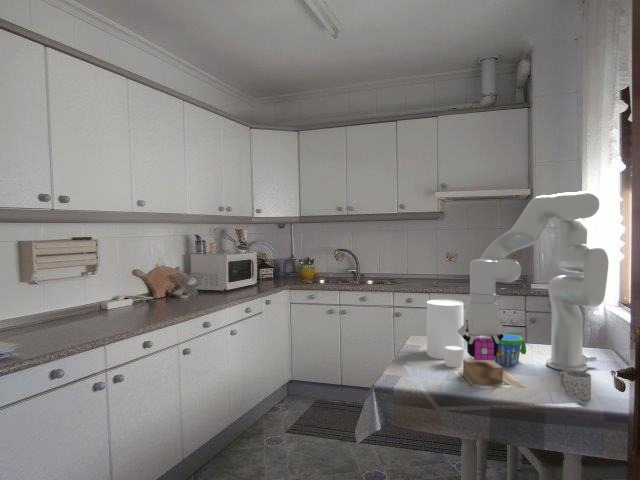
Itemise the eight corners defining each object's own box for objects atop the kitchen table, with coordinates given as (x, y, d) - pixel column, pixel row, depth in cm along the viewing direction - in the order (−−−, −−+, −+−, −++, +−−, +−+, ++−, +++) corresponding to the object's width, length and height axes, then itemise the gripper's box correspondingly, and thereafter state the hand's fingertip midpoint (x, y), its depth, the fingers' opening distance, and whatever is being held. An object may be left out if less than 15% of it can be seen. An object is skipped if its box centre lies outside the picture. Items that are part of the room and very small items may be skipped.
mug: (596, 400, 129) (596, 376, 128) (576, 402, 127) (576, 378, 127) (570, 387, 138) (570, 366, 138) (551, 389, 137) (551, 367, 137)
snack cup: (516, 359, 167) (516, 331, 167) (535, 368, 157) (535, 338, 157) (477, 362, 164) (477, 334, 164) (495, 371, 154) (495, 341, 153)
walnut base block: (490, 373, 149) (490, 358, 148) (502, 383, 140) (502, 367, 139) (463, 374, 148) (463, 359, 148) (473, 384, 139) (473, 368, 139)
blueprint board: (503, 372, 152) (503, 369, 152) (527, 390, 136) (527, 386, 136) (453, 374, 152) (453, 370, 152) (471, 391, 136) (471, 387, 136)
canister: (463, 360, 166) (463, 306, 166) (425, 358, 170) (425, 304, 169) (463, 350, 179) (463, 300, 179) (427, 348, 183) (427, 298, 182)
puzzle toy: (489, 355, 146) (489, 337, 146) (494, 360, 140) (494, 342, 140) (471, 354, 147) (471, 337, 147) (474, 360, 141) (474, 341, 141)
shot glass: (465, 371, 155) (465, 350, 154) (444, 370, 156) (444, 349, 156) (463, 365, 161) (463, 345, 161) (443, 364, 163) (443, 344, 163)
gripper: (504, 296, 147) (504, 351, 148) (451, 297, 146) (451, 352, 147) (515, 300, 140) (515, 358, 140) (459, 301, 139) (459, 359, 140)
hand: (482, 354), depth 144 cm, fingers closed on puzzle toy, 6 cm apart
